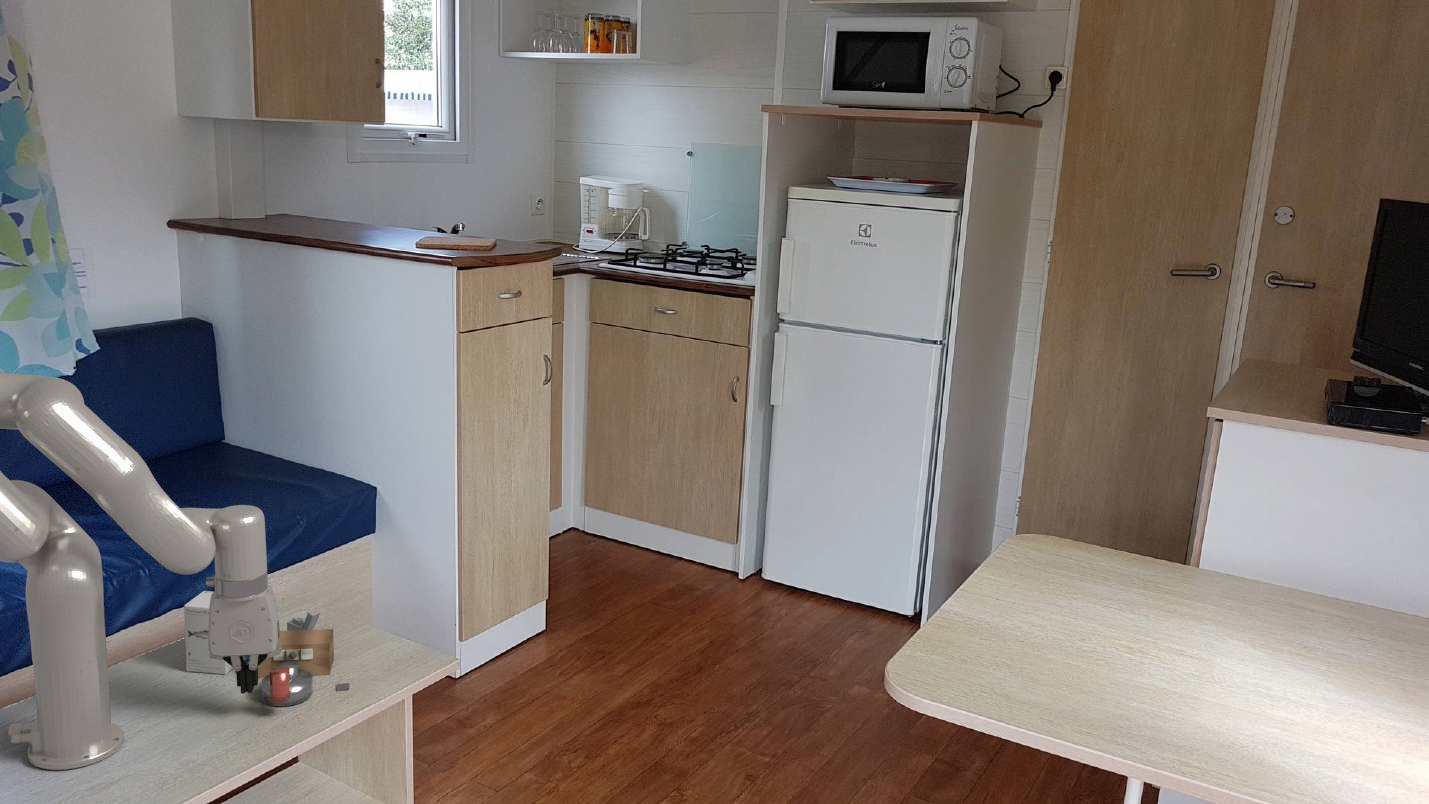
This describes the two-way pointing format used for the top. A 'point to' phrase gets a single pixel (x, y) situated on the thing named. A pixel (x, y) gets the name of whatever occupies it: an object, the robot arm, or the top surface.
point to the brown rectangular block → (303, 652)
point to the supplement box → (200, 637)
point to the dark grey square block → (342, 687)
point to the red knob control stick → (286, 685)
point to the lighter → (304, 622)
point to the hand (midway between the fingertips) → (248, 689)
